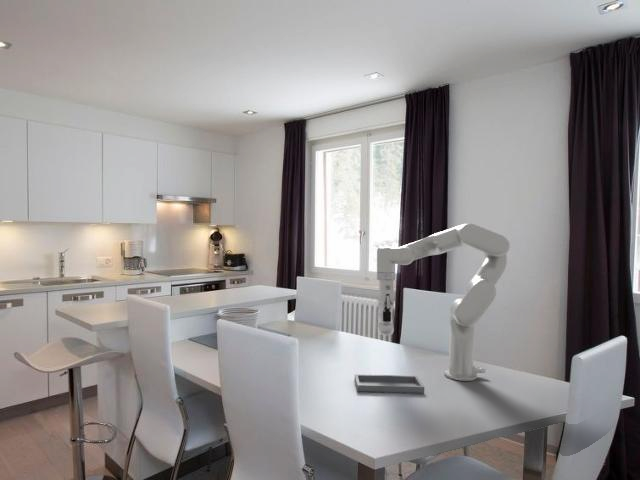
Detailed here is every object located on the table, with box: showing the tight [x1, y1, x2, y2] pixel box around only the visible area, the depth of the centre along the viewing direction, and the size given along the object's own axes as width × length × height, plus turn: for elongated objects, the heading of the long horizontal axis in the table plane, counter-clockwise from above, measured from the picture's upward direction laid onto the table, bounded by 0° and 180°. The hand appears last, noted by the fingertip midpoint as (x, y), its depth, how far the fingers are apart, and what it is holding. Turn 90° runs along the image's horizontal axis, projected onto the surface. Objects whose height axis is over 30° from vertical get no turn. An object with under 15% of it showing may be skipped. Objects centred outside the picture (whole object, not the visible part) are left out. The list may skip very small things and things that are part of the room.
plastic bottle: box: [377, 294, 395, 336], centre depth 183 cm, size 6×7×20 cm
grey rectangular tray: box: [354, 373, 425, 395], centre depth 164 cm, size 24×12×3 cm, turn 91°
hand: (385, 319), depth 183 cm, fingers closed on plastic bottle, 5 cm apart
